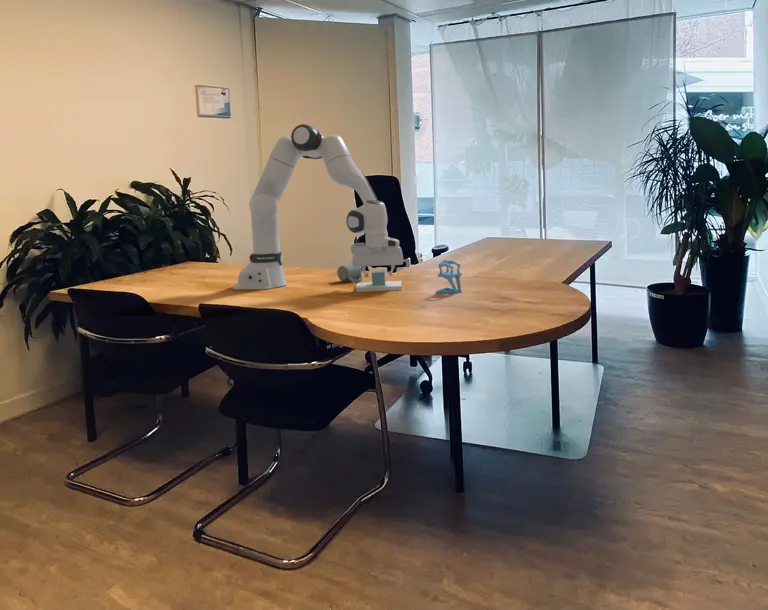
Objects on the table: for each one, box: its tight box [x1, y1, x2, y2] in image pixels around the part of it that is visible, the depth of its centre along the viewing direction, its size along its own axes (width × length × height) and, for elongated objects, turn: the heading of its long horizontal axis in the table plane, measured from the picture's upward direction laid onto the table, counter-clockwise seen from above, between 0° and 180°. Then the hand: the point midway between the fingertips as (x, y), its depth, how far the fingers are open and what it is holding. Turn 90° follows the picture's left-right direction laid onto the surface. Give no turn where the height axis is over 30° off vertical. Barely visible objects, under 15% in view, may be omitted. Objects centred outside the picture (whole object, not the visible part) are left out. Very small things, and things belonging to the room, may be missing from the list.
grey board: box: [355, 280, 403, 293], centre depth 258 cm, size 18×12×2 cm, turn 89°
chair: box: [435, 259, 463, 295], centre depth 241 cm, size 8×8×12 cm
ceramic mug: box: [336, 262, 363, 283], centre depth 277 cm, size 11×8×8 cm
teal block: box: [371, 270, 386, 286], centre depth 257 cm, size 5×5×5 cm
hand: (378, 276), depth 257 cm, fingers open, 8 cm apart
